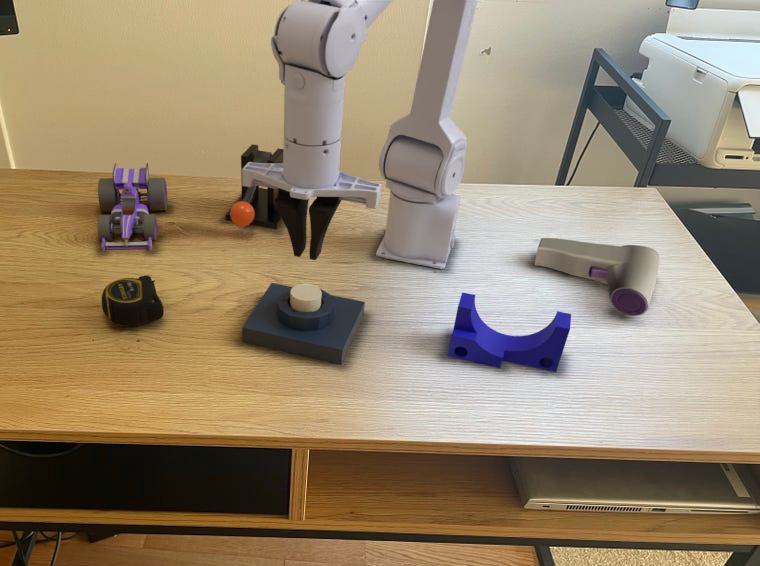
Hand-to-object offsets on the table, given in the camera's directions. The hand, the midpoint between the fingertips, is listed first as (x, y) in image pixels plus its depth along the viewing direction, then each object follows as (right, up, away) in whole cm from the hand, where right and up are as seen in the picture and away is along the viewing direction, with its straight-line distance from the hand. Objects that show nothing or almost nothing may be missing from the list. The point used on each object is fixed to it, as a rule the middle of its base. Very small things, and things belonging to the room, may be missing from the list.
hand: (307, 253), depth 82 cm
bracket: (-6, +11, +29) cm, 32 cm away
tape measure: (-20, -6, +9) cm, 23 cm away
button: (0, -5, +4) cm, 7 cm away
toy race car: (-25, +7, +25) cm, 36 cm away
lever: (-7, +12, +24) cm, 28 cm away
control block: (0, -8, +7) cm, 10 cm away
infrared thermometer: (+37, -2, +15) cm, 40 cm away
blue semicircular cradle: (+23, -11, +3) cm, 26 cm away
